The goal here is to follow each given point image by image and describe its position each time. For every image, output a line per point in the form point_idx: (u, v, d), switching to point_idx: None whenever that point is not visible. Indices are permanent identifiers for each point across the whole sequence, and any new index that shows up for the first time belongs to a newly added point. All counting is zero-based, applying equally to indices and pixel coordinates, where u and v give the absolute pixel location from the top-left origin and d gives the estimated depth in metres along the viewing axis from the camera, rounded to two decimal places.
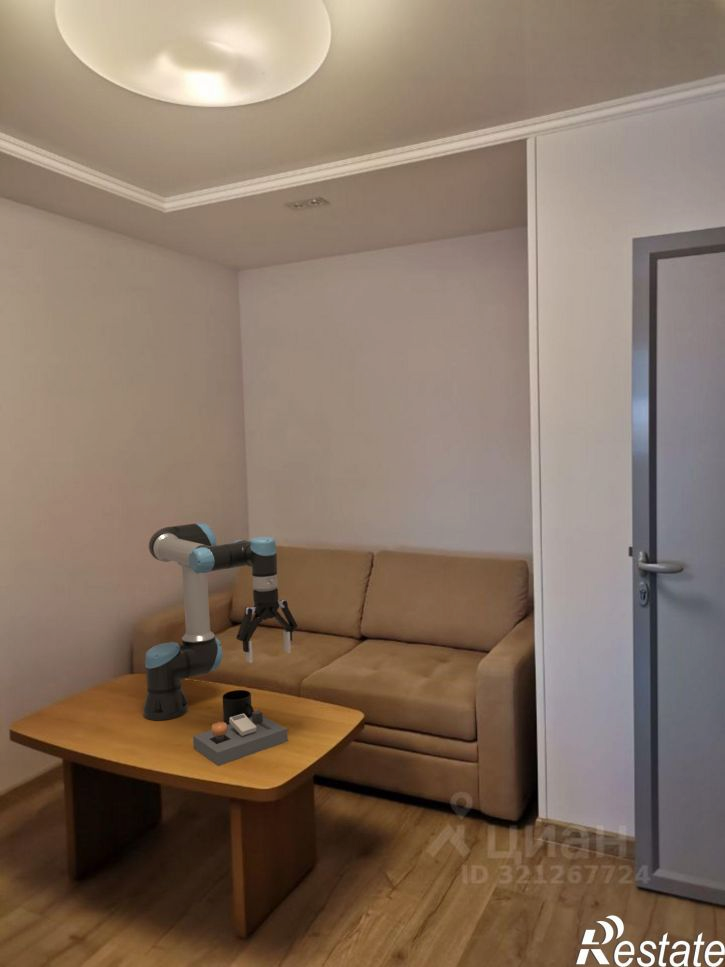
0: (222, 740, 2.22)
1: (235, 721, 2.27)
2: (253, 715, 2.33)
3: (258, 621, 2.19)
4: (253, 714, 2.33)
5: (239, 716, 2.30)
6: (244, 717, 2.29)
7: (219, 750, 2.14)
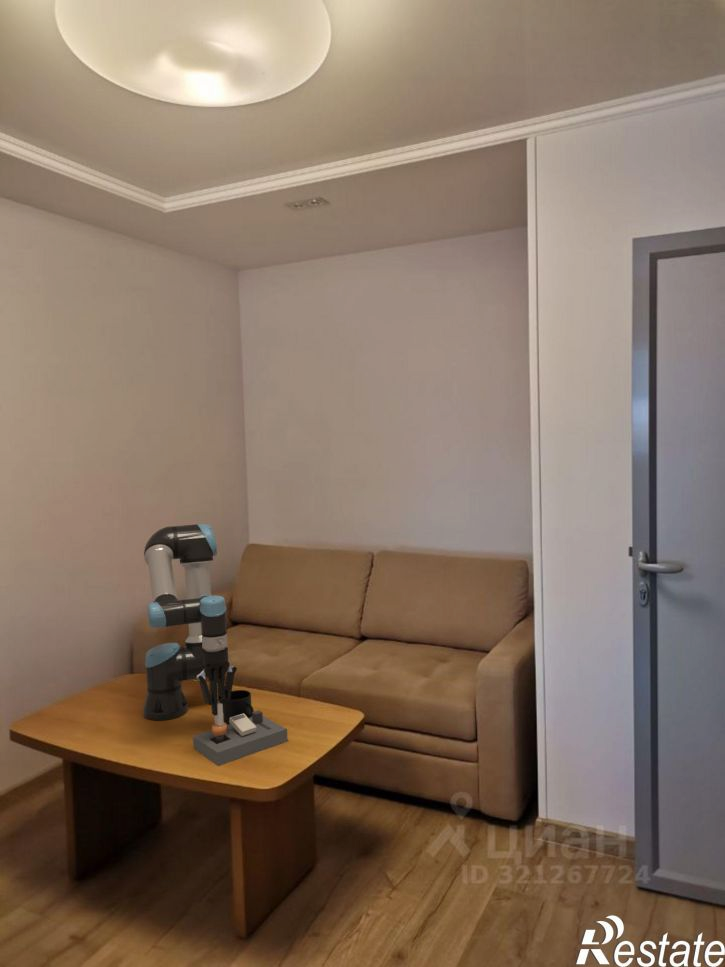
0: (222, 740, 2.22)
1: (235, 721, 2.27)
2: (253, 715, 2.33)
3: (214, 683, 2.19)
4: (253, 714, 2.33)
5: (239, 716, 2.30)
6: (244, 717, 2.29)
7: (219, 750, 2.14)
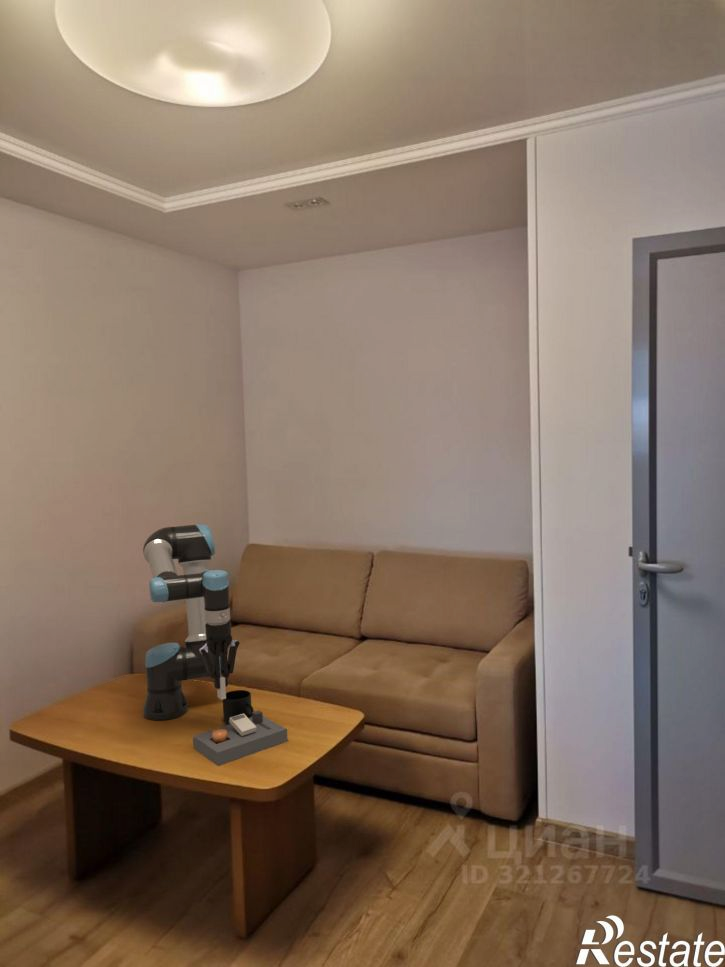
0: None
1: (235, 721, 2.27)
2: (253, 715, 2.33)
3: (217, 657, 2.20)
4: (253, 714, 2.33)
5: (239, 716, 2.30)
6: (244, 717, 2.29)
7: (219, 750, 2.14)
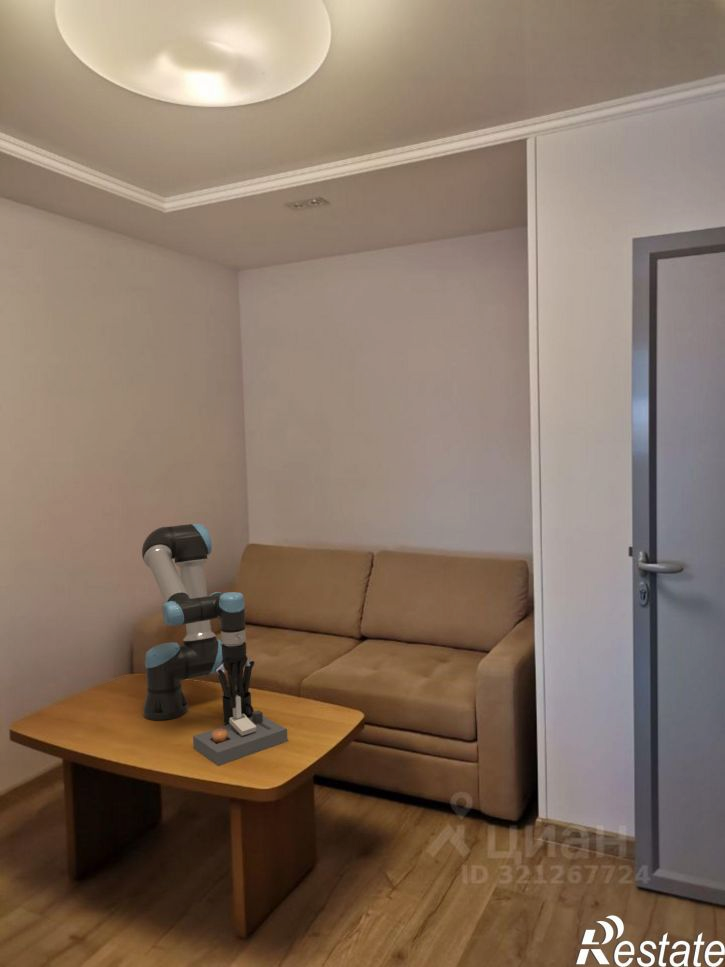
0: None
1: (235, 721, 2.27)
2: (253, 715, 2.33)
3: (233, 677, 2.27)
4: (253, 714, 2.33)
5: None
6: (244, 717, 2.29)
7: (219, 750, 2.14)
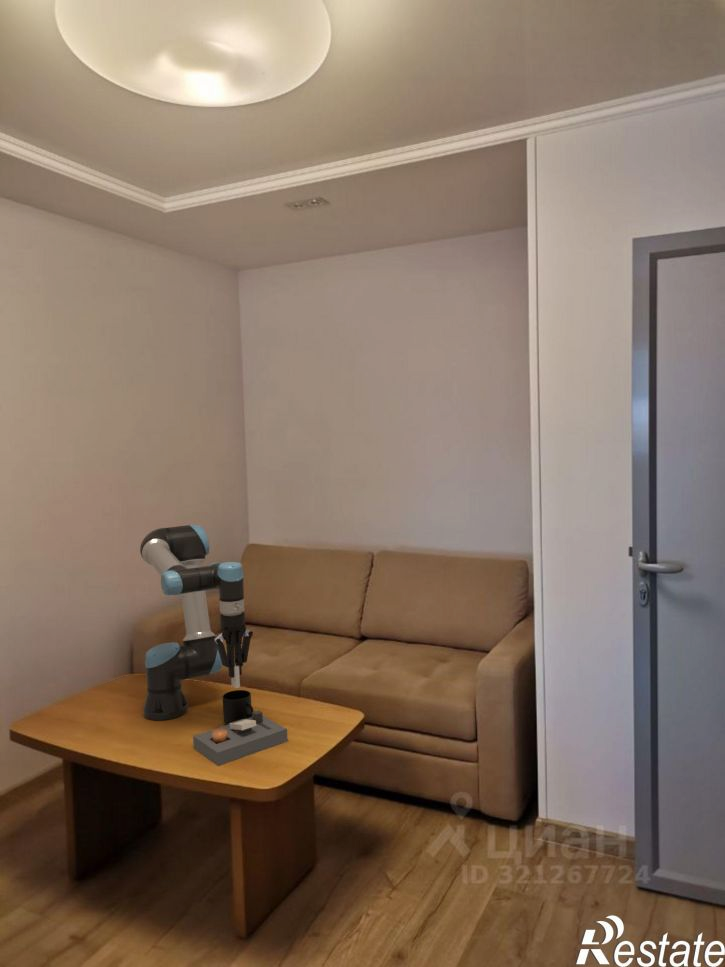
0: None
1: (234, 723, 2.27)
2: (253, 715, 2.33)
3: (232, 646, 2.26)
4: (253, 714, 2.33)
5: (238, 720, 2.30)
6: (243, 720, 2.30)
7: (219, 750, 2.14)
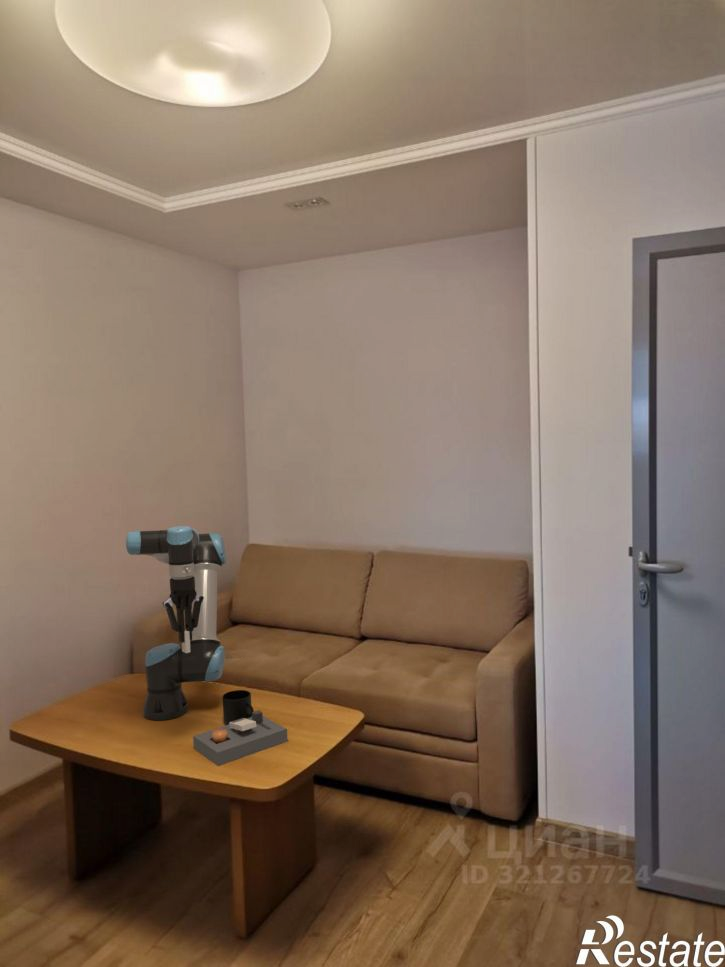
0: None
1: (235, 723, 2.27)
2: (253, 715, 2.33)
3: (181, 610, 2.24)
4: (253, 714, 2.33)
5: (238, 720, 2.30)
6: (244, 719, 2.30)
7: (219, 750, 2.14)
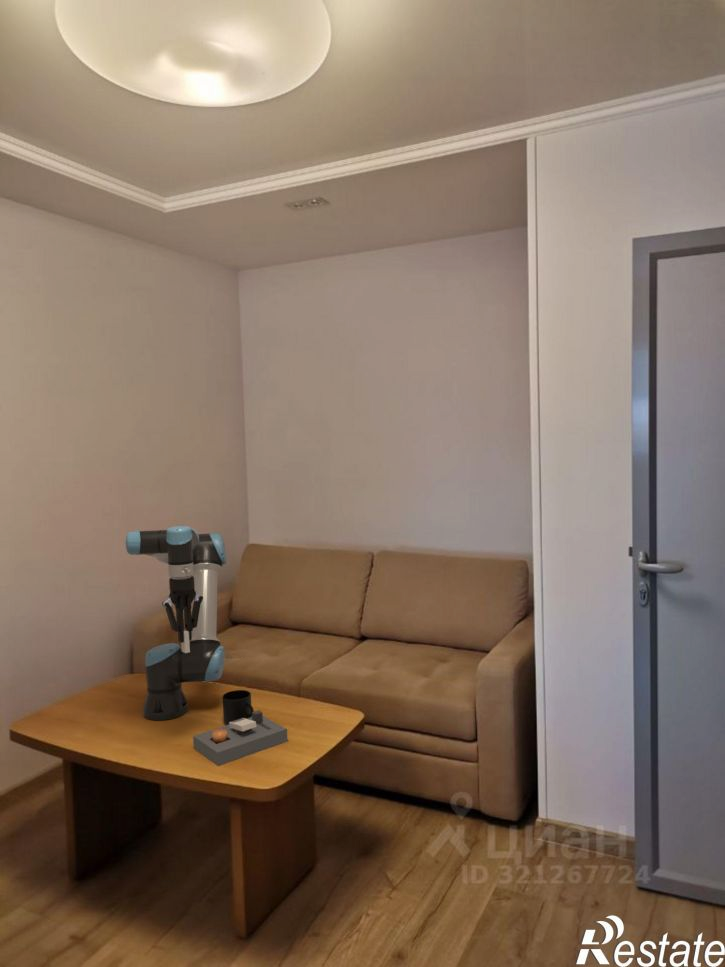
0: None
1: (235, 722, 2.27)
2: (253, 715, 2.33)
3: (181, 610, 2.24)
4: (253, 714, 2.33)
5: (238, 720, 2.30)
6: (244, 719, 2.30)
7: (219, 750, 2.14)
